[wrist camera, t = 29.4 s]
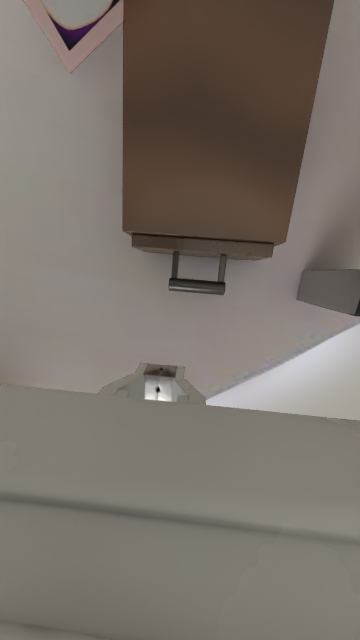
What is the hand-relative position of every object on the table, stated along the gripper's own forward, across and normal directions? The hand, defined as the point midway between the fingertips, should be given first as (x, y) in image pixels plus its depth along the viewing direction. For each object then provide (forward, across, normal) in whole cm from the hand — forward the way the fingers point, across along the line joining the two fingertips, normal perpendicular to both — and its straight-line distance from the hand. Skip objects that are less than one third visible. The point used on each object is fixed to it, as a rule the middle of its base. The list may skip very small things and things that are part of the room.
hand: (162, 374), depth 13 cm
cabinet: (+14, -2, -18) cm, 23 cm away
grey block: (+14, -17, -6) cm, 23 cm away
